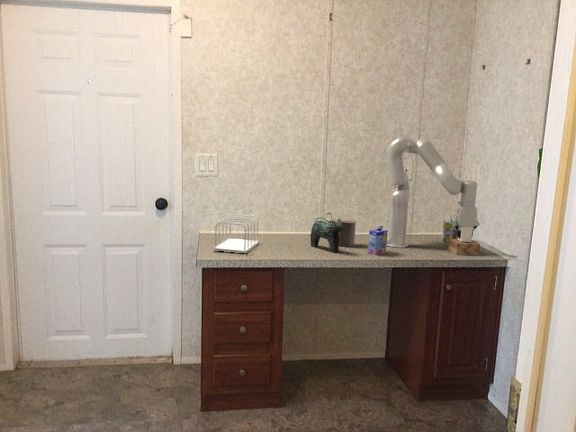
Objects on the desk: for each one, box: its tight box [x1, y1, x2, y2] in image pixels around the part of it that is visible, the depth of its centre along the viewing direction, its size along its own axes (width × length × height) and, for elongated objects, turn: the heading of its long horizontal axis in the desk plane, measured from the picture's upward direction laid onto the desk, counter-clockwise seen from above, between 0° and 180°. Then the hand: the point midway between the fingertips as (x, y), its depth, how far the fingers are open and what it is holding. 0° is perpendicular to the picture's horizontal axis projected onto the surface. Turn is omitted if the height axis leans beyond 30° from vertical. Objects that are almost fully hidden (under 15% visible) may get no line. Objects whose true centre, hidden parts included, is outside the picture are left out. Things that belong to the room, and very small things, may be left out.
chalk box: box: [441, 216, 458, 243], centre depth 296 cm, size 9×9×15 cm
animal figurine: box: [310, 212, 343, 254], centre depth 265 cm, size 20×6×20 cm, turn 41°
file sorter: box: [213, 214, 260, 255], centre depth 264 cm, size 25×17×16 cm
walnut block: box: [448, 239, 481, 256], centre depth 270 cm, size 12×12×6 cm
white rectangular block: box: [457, 225, 473, 242], centre depth 269 cm, size 6×6×9 cm
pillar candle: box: [338, 219, 356, 248], centre depth 277 cm, size 10×10×15 cm
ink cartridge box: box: [367, 225, 389, 256], centre depth 262 cm, size 10×6×14 cm, turn 136°
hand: (464, 237), depth 269 cm, fingers closed on white rectangular block, 5 cm apart
